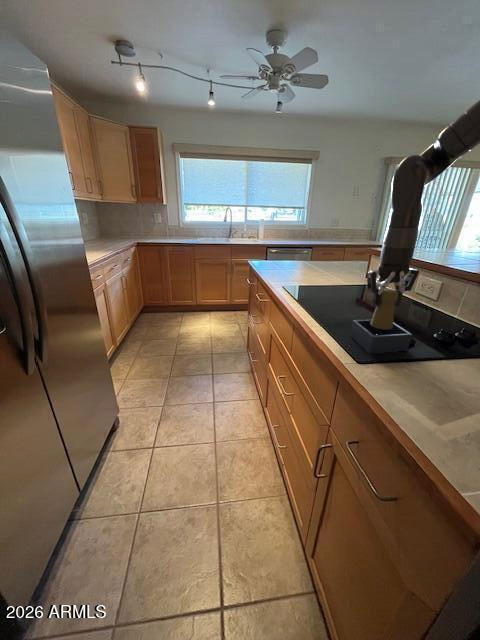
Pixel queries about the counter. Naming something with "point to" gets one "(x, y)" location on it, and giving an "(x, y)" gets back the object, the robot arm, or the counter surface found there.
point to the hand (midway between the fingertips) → (385, 305)
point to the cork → (385, 310)
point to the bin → (380, 337)
